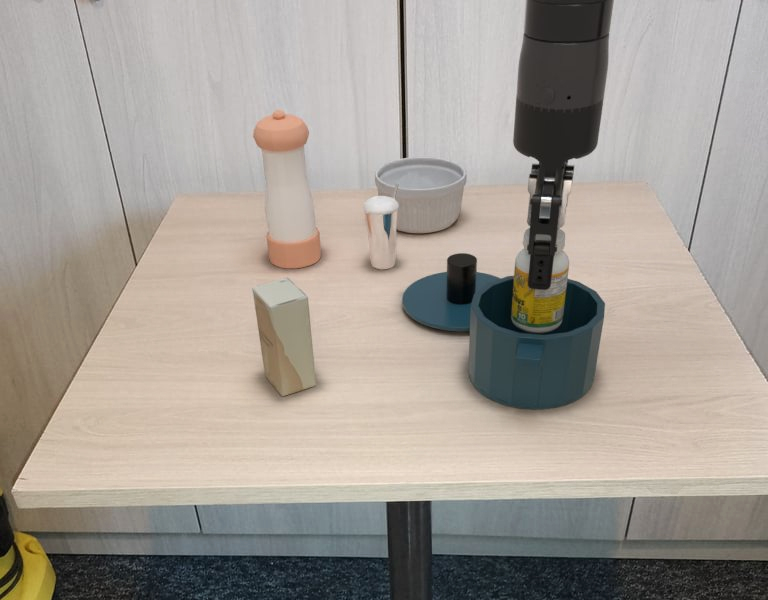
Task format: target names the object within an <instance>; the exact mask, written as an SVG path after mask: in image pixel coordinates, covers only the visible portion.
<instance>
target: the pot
mask: <svg viewBox="0 0 768 600" xmlns="http://www.w3.org/2000/svg"><path fill="white" fill-rule="evenodd" d="M513 285H514V275H507V276H504V277H501V279H498V280H495V281H493V282H490V283H487V284H486V285H484V286H483V287H482V288H481V289H479V290H478V291H477V292H476V293H475V294H474V297H473V300H472V304H471V313H470V331H469V337H468V339H469V340H468V341H469V343H468V366H467V367H468V368H467V371H468V375H469V380H470V382H471V384H472V385H473V387H474V388H475V390H477V391H478V392H479V393H480V394H481V395H483V396H484V397H486V398H487V399H489V400H490V401H493V402H496V403H498V404H501V405H504V406H507V407H512V408H517V409H523V410H548V409H549V410H551V409H555V408H560V407H564V406H567V405H570V404H572V403H574V402H577V401H579V400H580V399H581V398H583V397H584V396H585V395H586V394H587V393H589V390H590V389H591V388H592V385H593V383H594V382H595V381H594V380H595V375H596V370H597V369H596V368H597V363H598V357H599V351H600V344H601V338H602V334H603V333H602V332H603V326H604V321H605V313H606V312H605V311H606V303H605V301H604V300H603V298H602V297H601V296H600V295H599V293H598V292H597V291H596V290H595V289H593V288H591V287H589V286H587V285H585V284H584V283H582V282H580V281H577V280H574V279H570V278H568V279H567V287H566V295H565V304H564V313H563V319H562V323H561V324H560V326H559V327H558V328H556V329H555V330H553V331H550V332H546V333H531V332H526V331H524V330H522V329H519V328H518V327H516V326H515V325H514V324H513V322H512V319H511V312H512V299H513Z"/></svg>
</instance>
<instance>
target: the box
mask: <svg viewBox="0 0 768 600" xmlns="http://www.w3.org/2000/svg"><path fill="white" fill-rule="evenodd" d="M252 295H253V302H254V308H255V316H256V323H257V331H258V338H259V344H260V350H261V358H262V365H263V371H264V376H265V377H266V379H267V380H268V382H269V383H270V384H271V385H272V386H273V388H275V390H276V392H277V393H279V395H280V396H281V397H285V396H288V395H292V394H294V393H297V392H301V391H304V390H307V389H309V388H312V387H316V386H317V380H316V372H315V371H316V370H315V357H314V348H313V337H312V325H311V317H310V306H309V305H310V304H309V296H308V295H307V294H306V292H304V291H303V290H302V289H301V288H300V287H299V286H298V285H297V284H296V283H295V282H294V281H293V280H292V279H290V278H289V277H283V278H280V279H277V280H274V281H270V282H267V283H263V284H259V285H256V286H253V287H252Z"/></svg>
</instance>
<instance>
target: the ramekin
mask: <svg viewBox="0 0 768 600" xmlns="http://www.w3.org/2000/svg"><path fill="white" fill-rule="evenodd" d="M374 183H375V184H374V185H375V186H376V188H377V196H387V197H391V198H393V194H394V190H395V186H396V184H398V189H397V193H396V197H395V200H396V201H397V202H398V204H399V208H398V222H397V231H399V232H403V233H408V234H409V233H410V234H430V233H436V232H439V231H442V230H445V229H448V228H450V227H451V226H453V224H454V223H455V222H456V221H457V219H458V218H459V216H460V213H461V209H462V203H463V197H464V190H465V186H466V185H467V170H466V168H464V166H463V165H462V164H460V163H458V162H455V161H454V160H450V159H446V158H441V157H434V156H433V157H432V156H414V157H413V156H412V157H411V156H410V157H404V158H399V159H394V160H390V161H388V162H386V163H384V164H382V165H381V166H379V167H378V168H377V169H376V170H375V172H374Z"/></svg>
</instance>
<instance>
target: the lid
mask: <svg viewBox="0 0 768 600" xmlns="http://www.w3.org/2000/svg"><path fill="white" fill-rule="evenodd" d="M477 269H478V258H477V257H476V255H473V254H470V253H465V252H464V253H463V252H460V253H454V254H451V255H449V256H448V257H447V259H446V271H441V272H437V273H433V274H429V275H427V276H424V277H421V278H419V279H417V280H415V281H414V282H412V283H411V284H410V285H409V286H408V287H407V288H406V289H405V291H404V292H403V293H402V300H401V301H402V302H401V303H402V304H401V305H402V308H403V310H404V312H405V313H406V314H407V316H408V317H410V318H411V319H412V320H414V321H416V322H418V323H419V324H421V325H423V326H426V327H429V328H433V329H438V330H442V331H450V332H470V313H471V304H472V300H473V297H474V294H475V293H476V292H477V291H478V290H479V289H481V288H482V287H483V286H484V285H486V284H487V283H490V282H493V281H495V280H498V279H501V278H502V277H501V278H500V277H498V276H496V275H493V274H490V273H485V272H480V271H477Z"/></svg>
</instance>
